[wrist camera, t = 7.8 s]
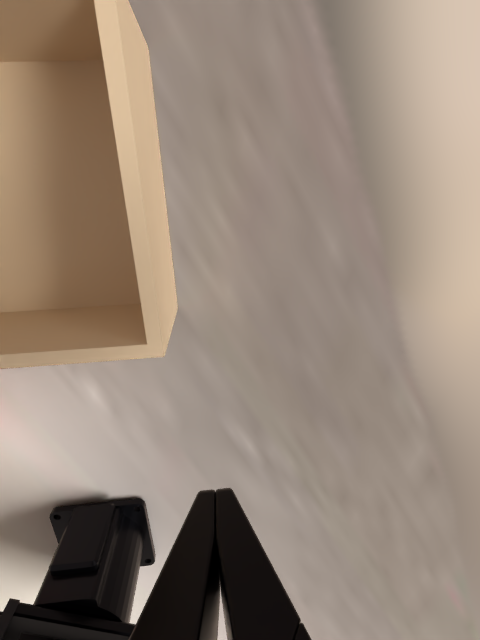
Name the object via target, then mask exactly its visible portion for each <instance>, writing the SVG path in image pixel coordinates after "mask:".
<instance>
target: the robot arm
mask: <svg viewBox="0 0 480 640" xmlns="http://www.w3.org/2000/svg"><path fill="white" fill-rule="evenodd" d="M137 506H139V507H137ZM50 520H51V523H52V526H53V529H54V532H55V535H56V538H57V541H58V543H59V545H58V547H57V549H56V552H55V554H54V556H53V559H52V561H51V563H50V566H49V569H48V572H47V574H46V576H45V579H44V581H43V583H42V586H41V588H40V590H39V593H38V595H37V597H36V600H35V602H34V604H33V605H31V604H25V603H20V600H16V599H11V598H10V599H9V601H8V603H7V605H6V607H5V609H4V611H3V612H1V611H0V640H217V636H218V620H219V604H220V586H221V596H222V604H223V611H224V618H225V625H226V632H227V639H228V640H311V638H310V636H309V634H308V632H307V630H306V628H305V627H304V625H303V623H301V620H300V617H299V616H298V614H297V612H296V610H295V608H294V606H293V604H292V602H291V600H290V598H289V597H288V595H287V593H286V591H285V589H284V587H283V585H282V583H281V581H280V579H279V578H278V576H277V574H276V572H275V570H274V568H273V566H272V564H271V562H270V560H269V558H268V557H267V555H266V553H265V551H264V549H263V547H262V545H261V543H260V541H259V539H258V538H257V536H256V534H255V532H254V530H253V528H252V526H251V524H250V522H249V520H248V519H247V517H246V515H245V513H244V511H243V509H242V507H241V505H240V503H239V501H238V500H237V498H236V496H235V494H234V492H233V490H232V489H231V488H223V489H217V490H216V492H215V491H214V490H204V491H200V492H199V493H198V494H197V496H196V498H195V500H194V503H193V505H192V507H191V509H190V511H189V513H188V515H187V517H186V519H185V522H184V524H183V526H182V528H181V530H180V532H179V534H178V536H177V539H176V541H175V543H174V545H173V547H172V549H171V551H170V553H169V556H168V558H167V560H166V562H165V564H164V566H163V568H162V570H161V572H160V575H159V577H158V579H157V581H156V583H155V585H154V587H153V589H152V592H151V594H150V596H149V598H148V600H147V602H146V604H145V606H144V608H143V611H142V613H141V615H140V617H139V619H138V621H137V623H136V624H130V623H129V622H130V616H131V611H132V606H133V600H134V595H135V590H136V584H137V579H138V574H139V568H140V566H148V565H152V564H153V563H154V562H155V550H154V545H153V540H152V535H151V529H150V524H149V519H148V514H147V509H146V504H145V501H143V500H141V499H132V500H122V501H112V502H102V503H92V504H83V505H73V506H63V507H56V508H54V509H53V510H52V512H51V514H50Z"/></svg>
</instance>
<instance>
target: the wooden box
mask: <svg viewBox="0 0 480 640" xmlns="http://www.w3.org/2000/svg"><path fill="white" fill-rule="evenodd" d="M177 310H178V305H177V296H176V287H175V279H174V270H173V261H172V252H171V243H170V234H169V226H168V217H167V208H166V199H165V190H164V182H163V173H162V164H161V155H160V146H159V138H158V129H157V120H156V111H155V102H154V94H153V85H152V76H151V67H150V58H149V49H148V46H147V44H146V41H145V39H144V37H143V34H142V32H141V30H140V27H139V25H138V22H137V20H136V18H135V15H134V13H133V11H132V8H131V6H130V4H129V1H128V0H0V369H6V368H20V367H33V366H47V365H60V364H74V363H87V362H101V361H114V360H128V359H141V358H155V357H164V356H165V353H166V349H167V346H168V342H169V338H170V335H171V331H172V328H173V324H174V320H175V317H176V313H177Z"/></svg>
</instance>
